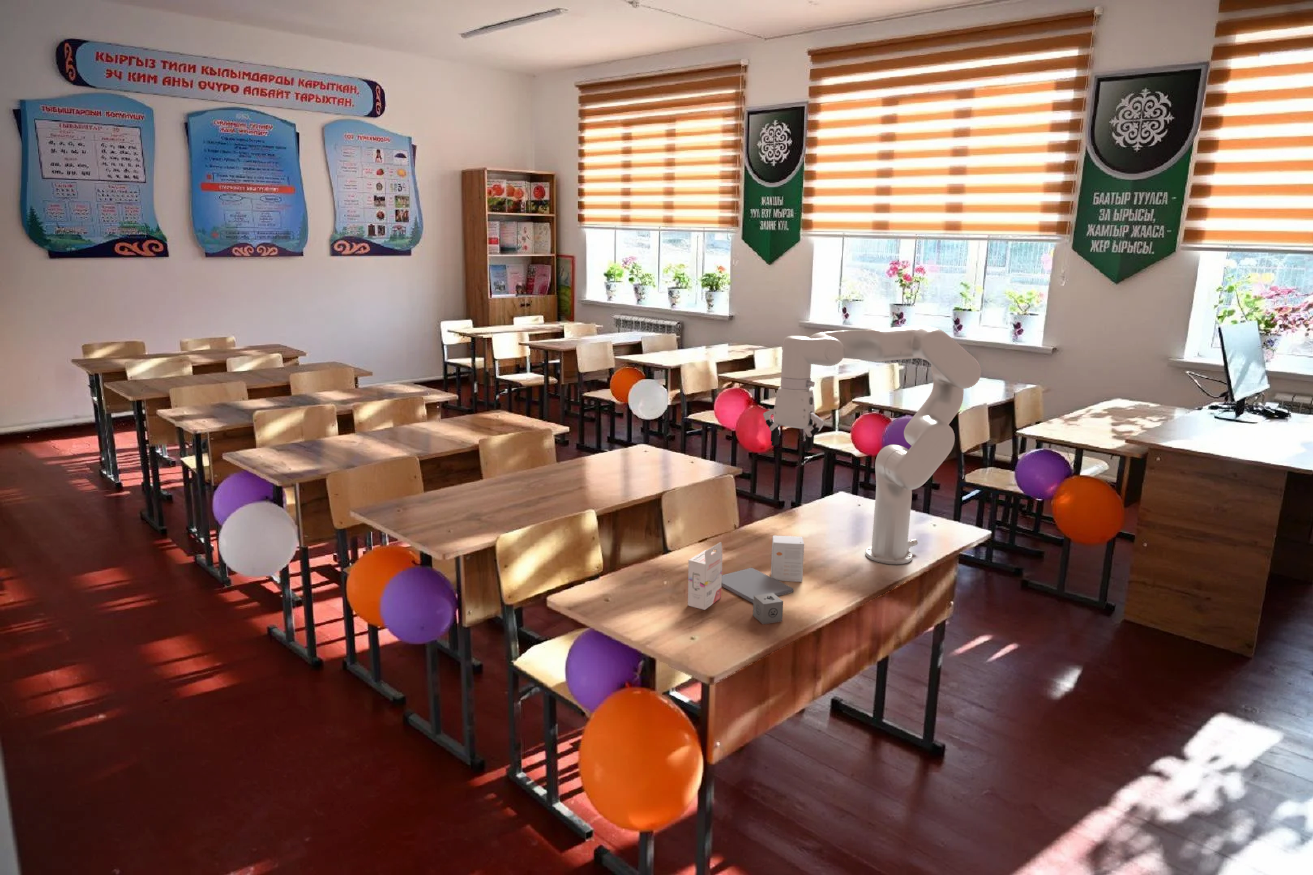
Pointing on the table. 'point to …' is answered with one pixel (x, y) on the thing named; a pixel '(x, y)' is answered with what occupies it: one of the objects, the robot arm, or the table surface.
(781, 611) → the dice cube
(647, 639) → the table surface
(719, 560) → the ink cartridge box
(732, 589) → the mat
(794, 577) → the small box
